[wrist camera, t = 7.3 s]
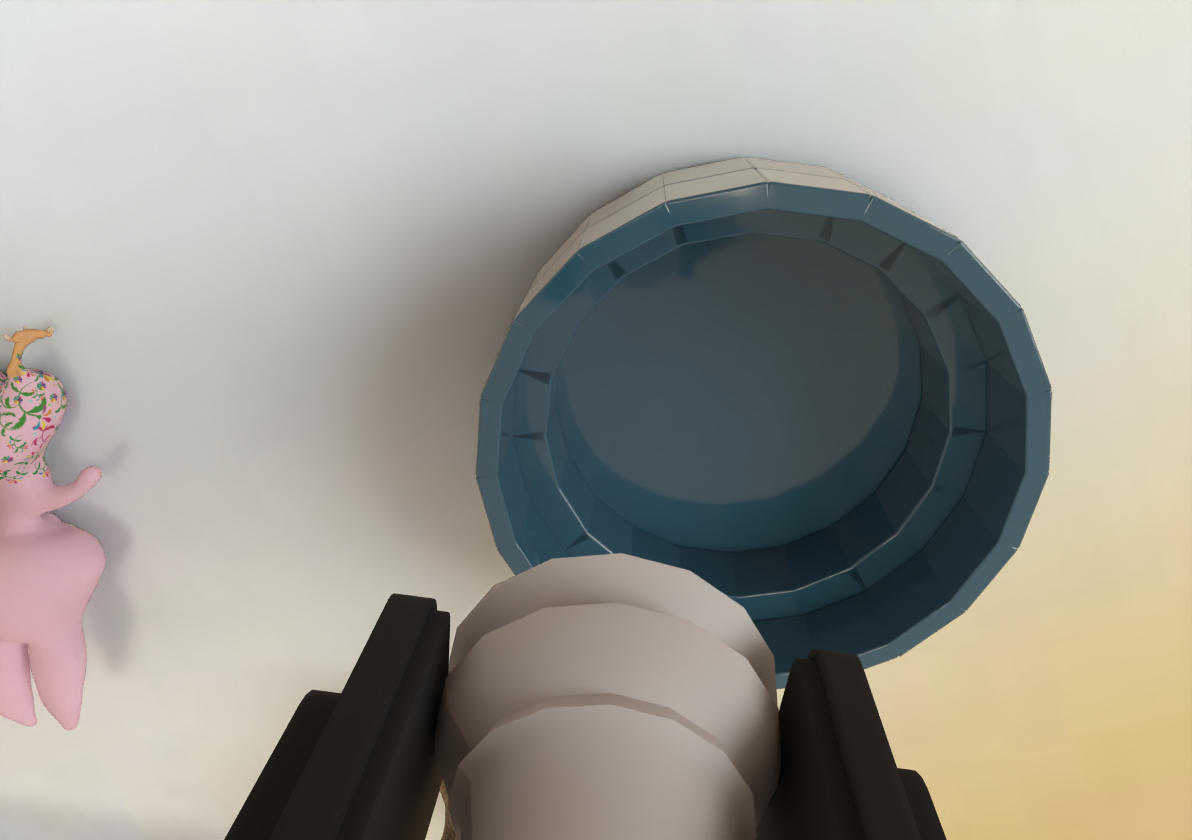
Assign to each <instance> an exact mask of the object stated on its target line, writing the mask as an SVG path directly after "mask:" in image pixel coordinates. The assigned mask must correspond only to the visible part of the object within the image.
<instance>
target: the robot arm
mask: <svg viewBox="0 0 1192 840" xmlns="http://www.w3.org/2000/svg"><path fill="white" fill-rule="evenodd" d="M449 639H450V613H449V612H444V611H437V604H436V600H435V599H432V598H425V597H417V596H409V595H402V594H392V595H391V596H390V598H389V599H388V601H387V603H386V605H385V607H384V609H383V611H382V613H381V615H380V617H379V619H378V621H377V623H376V625H375V627H374V629H373V631H372V633H371V635H370V637H369V639H368V641H367V643H366V645H365V647H364V649H363V651H362V653H361V655H360V657H359V659H358V661H357V663H356V665H355V667H354V669H353V671H352V673H351V675H350V677H349V679H348V681H347V683H346V685H345V687H344V689H343V691H342V693H334V692H326V691H319V690H311V691H310V692H309V693H308V694H306V695H305V697H304V698H303V700H302V701H301V703H300V704H299V706H298V708H297V710H296V711H295V713H294V715H293V717H292V719H291V720H290V722H289V724H288V726H287V728H286V729H285V731H284V733H283V735H282V737H281V738H280V740H279V742H278V744H277V746H276V747H275V749H274V751H273V753H272V755H271V756H270V758H269V760H268V762H267V764H266V765H265V767H264V769H263V771H262V773H261V774H260V776H259V778H258V780H257V782H256V783H255V785H254V787H253V789H252V791H251V792H250V794H249V796H248V798H247V800H246V801H245V803H244V805H243V807H242V809H241V810H240V812H239V814H238V816H237V818H236V819H235V821H234V823H233V825H232V827H231V828H230V830H229V832H228V834H227V836H226V837H225V839H224V840H425V838H426V834H427V831H428V828H429V824H430V821H431V818H432V814H433V811H434V807H435V804H436V801H437V797H438V794H439V791H440V787H441V783H442V775H441V771H440V768H439V765H438V761H437V758H436V755H435V729H436V722H437V714H438V709H439V705H440V701H441V696H442V692H443V688H444V683H445V679H446V677H447V676H448V667H449ZM779 725H780V741H781V768H780V773H779V779H778V785H777V788H776V790H775V792H774V794H773V796H772V798H771V800H770V802H769V804H768V806H767V808H766V810H765V812H764V814H763V815H762V817H761V819H760V821H759V823H758V825H757V827H756V835H757V838H756V840H946V837H945V834H944V831H943V829H942V826H941V823H940V821H939V818H938V815H937V813H936V810H935V807H934V805H933V802H932V799H931V796H930V794H929V791H928V789H927V787H926V785H925V782H924V780H923V778H922V777H921V776H920V775H919V774H918V773H917V772H916V771H914V770H908V769H900V768H897V766H896V763H895V760H894V757H893V755H892V752H891V749H890V746H889V743H888V740H887V737H886V734H885V731H884V728H883V725H882V722H881V719H880V716H879V713H878V710H877V707H876V704H875V701H874V698H873V696H872V693H871V690H870V687H869V684H868V681H867V678H866V675H865V672H864V669H863V666H862V663H861V661H860V659H859V657H858V656H857V655H856V654H851V653H843V652H836V651H828V650H821V649H811V650H810V652H809V653H808V656H807V659H801V658H795V659H794V661H793V663H792V665H791V669H790V673H789V676H788V680H787V684H786V687H785V691H784V695H783V698H782V702H781V706H780V710H779Z"/></svg>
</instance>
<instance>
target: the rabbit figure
mask: <svg viewBox="0 0 1192 840" xmlns="http://www.w3.org/2000/svg"><path fill="white" fill-rule="evenodd" d="M50 329H51V330H50ZM49 332H50V333H49ZM53 332H54V331H53V328H51V326H50V327H49V328H48V329H46V330H45V332H44V331H42V330H35V329H26V328H25V326H24V329H23V331H17V332H15V333H14V335H13V337H12V338H11V337H9V336H6V335H4V334H3V336H4V338H5V340H6V341H12V342H15V345H14V349H13V353H12V359H11V362H10V364H9V365H8V367H7V374H8V375H7V377H6V376H5V375H4V374H3V373H2V372H0V715H2V716H4V717H6V718H8V719H10V720H13V721H15V722H18V723H20V724H22V725H26V726H35V725H36V723H37V719H36V715H35V709H34V699H33V695H32V688H31V677H30V668H31V672H32V675H33V678H34V681H35V683H36V687H37V691H38V694H39V697H40V699H41V701H42V703H43V704H44V706H45V707H46V708H47V710H48V711H49V712H50V713H51V714H52V715H53V716H54V717H55V719H56V720H57V721H58V722H59V723H60V724H61V725H62V727H63V728H64V729H66V730H73V729H74V728H76V726H77V725H78V722H79V716H80V709H81V703H82V692H83V685H84V680H85V673H86V661H87V654H86V643H85V637H84V633H83V628H82V616H83V613H84V610H85V608H86V605H87V603H88V601H89V600H90V598H91V596H92V594H93V592H94V590H95V587H96V585H97V583H98V581H99V579H100V577H101V575H102V573H103V571H104V569H105V565H106V558H105V553H104V551H103V548H102V546H101V544H100V543H99V541H98V540H97V539H96V538H95V537H94V536H93V535H92V534H90V533H88V532H86V531H84V530H81V529H78V528H76V527H75V526H74V525H72V524H68V523H63V522H62V521H61V520H60V519H59V518H58V517H57V516H55V515H54V514H52V513H50V512H49V511H53V510H56V509H59V508H61V507H63V506H65V505H68V504H70V503H72V502H74V501H76V500H78V499H79V498H81V497H82V496H83V495H85V494H86V493H87V492H88V491H89V490H90V489H91V488H92V487H93V486H94V485H95V484H96V483H97V482H98V481H99V480H100V479H101V476H102V472H101V470H100V469H99V468H97V467H94V466H90V467H87V468H85V469H84V470H83V471H82V472H81V473H80V475H79V477H78V478H77V480H76V481H75V482H73V483H71V484H68V485H64V486H57V485H55V484H54V483H53V480H52V475H51V471H50V469H49V467H48V465H47V463H46V462H45V459H44V452H45V449H46V447H47V445H48V444H49V442H50V440H51V439H52V437H53V435H54V434H55V432H56V431H57V429H58V427H59V425H60V423H61V421H62V419H63V416H64V413H65V410H66V406H67V396H66V392H65V389H64V387H63V385H62V384H61V382H60V381H59V380H58V379H57V378H56V377H55V376H53V375H51V374H50V373H47V372H45V371H41V370H35V369H27V368H25V367H23V366H22V363H21V356H22V353H23V351H24V349H25V347H26V346H27V345H28V344H30V343H32V342H34V340H35V339H37V338H38V339H39V338H41V339H43V338H44V337H45V336H48V337H50V336H51V335H52V333H53ZM27 645H28V646H27ZM28 647H29V656H28ZM29 663H30V665H29Z"/></svg>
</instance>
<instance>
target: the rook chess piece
mask: <svg viewBox="0 0 1192 840" xmlns="http://www.w3.org/2000/svg"><path fill="white" fill-rule="evenodd" d="M435 755H436V758H437V761H438V765H439V768H440V771H441V775H442V778H443V781H444V785H445V788H446V791H447V794H448V798H449V803H448V810H449V813H450V817H451V820H452V823H453V827H454V830H455V833H456V836H457V840H756V838H757V835H756V827H757V825H758V823H759V821H760V819H761V817H762V815H763V814H764V812H765V810H766V808H767V806H768V804H769V802H770V800H771V798H772V796H773V794H774V792H775V790H776V788H777V785H778V779H779V773H780V768H781V741H780V725H779V709H778V707H777V692H776V676H775V660H774V655H773V654H772V652H771V651H770V649H769V647H768V646H767V644H766V642H765V641H764V639H763V638H762V636H761V634H760V633H759V631H758V630H757V628H756V626H755V625H754V623H753V621H752V620H751V618H750V617H749V615H748V613H747V612H746V610H745V609H744V607H742V606H741V605H739V604H738V603H736V602H735V601H733V600H732V599H731V598H729V597H728V596H726V595H725V594H723V593H722V592H720V591H719V590H717V589H716V588H715V587H713V586H712V585H710V584H709V583H707V582H706V581H704V580H703V579H701V578H700V577H699V576H697V575H696V574H694V573H693V572H691V571H689V570H685V569H681V568H678V567H674V566H670V565H666V564H662V563H658V562H654V561H650V560H646V559H642V558H639V557H635V556H631V555H627V554H623V553H618V554H605V555H593V556H580V557H568V558H555V559H550V560H548V561H546V562H544V563H542V564H540V565H537V566H535V567H533V568H531V569H529V570H527V571H524V572H522V573H520V574H518V575H516V576H514V577H512V578H509V579H507V580H505V581H503V582H501V583H499V584H497V585H494V586H493V587H492V588H491V590H490V591H489V592H488V593H487V594H486V595H485V596H484V598H483V599H482V600H481V601H480V602H479V603H478V604H477V606H476V607H475V608H474V609H473V610H472V611H471V613H470V614H469V615H468V616H467V617H466V618H465V619H464V621H463V622H462V623H461V624H460V625H459V626H458V627H457V630H456V635H455V639H454V643H453V648H452V652H451V656H450V661H449V667H448V676H447V677H446V679H445V683H444V688H443V692H442V696H441V701H440V705H439V709H438V714H437V722H436V729H435Z"/></svg>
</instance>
